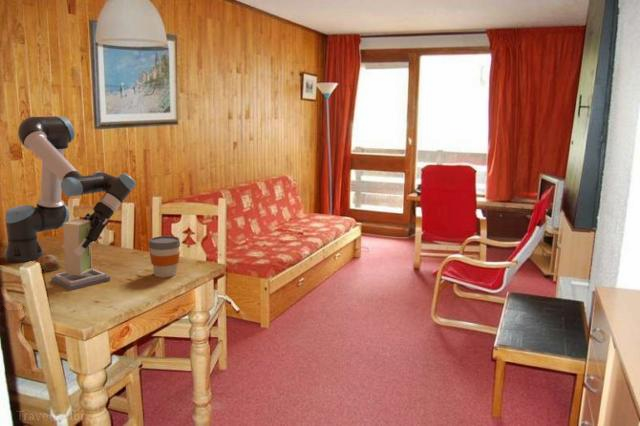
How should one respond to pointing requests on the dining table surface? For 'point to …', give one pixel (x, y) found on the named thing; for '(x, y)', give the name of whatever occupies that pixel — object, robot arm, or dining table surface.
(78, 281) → the base plate
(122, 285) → the dining table surface
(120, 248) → the dining table surface
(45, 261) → the bread roll
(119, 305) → the dining table surface
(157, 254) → the reusable coffee cup
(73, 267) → the toy refrigerator
